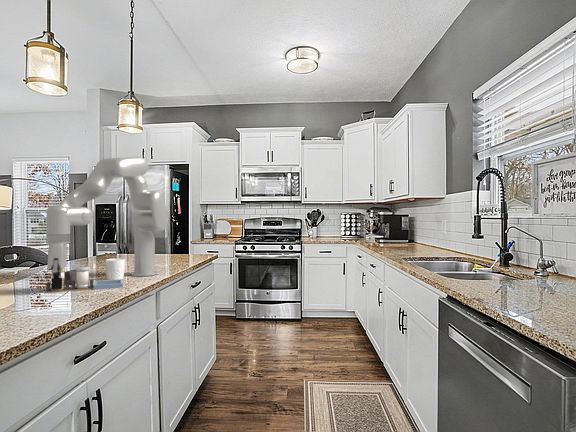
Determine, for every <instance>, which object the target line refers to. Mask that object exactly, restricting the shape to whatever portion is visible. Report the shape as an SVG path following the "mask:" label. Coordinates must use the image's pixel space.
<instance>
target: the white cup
mask: <svg viewBox="0 0 576 432" xmlns="http://www.w3.org/2000/svg"><path fill="white" fill-rule="evenodd" d="M125 265H126V259H125V258H121V257H120V258H116V257H115V258H108V259H107V258H106V259H105V276H106V280H121V279H124V277H125V276H124V275H125V269H126V268H125V267H126V266H125Z"/></svg>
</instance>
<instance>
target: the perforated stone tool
mask: <svg viewBox="0 0 576 432" xmlns="http://www.w3.org/2000/svg"><path fill="white" fill-rule="evenodd" d="M64 277H65V280H64V285H65V282H66V281H69V286H72V280H75V285H77V271H76V269H71V270H67V271H66V270H65V272H64Z"/></svg>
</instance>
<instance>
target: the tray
mask: <svg viewBox="0 0 576 432" xmlns="http://www.w3.org/2000/svg"><path fill="white" fill-rule="evenodd" d="M123 279H124V278H122V279H116V280H108V279H106V280H96V281H94V282H93V285H94V286H93V289H92V291H93V290H95V291H96V290H107V289H108V290H110V289H119V288H120V289H121V288H123V287H124V281H123Z"/></svg>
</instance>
